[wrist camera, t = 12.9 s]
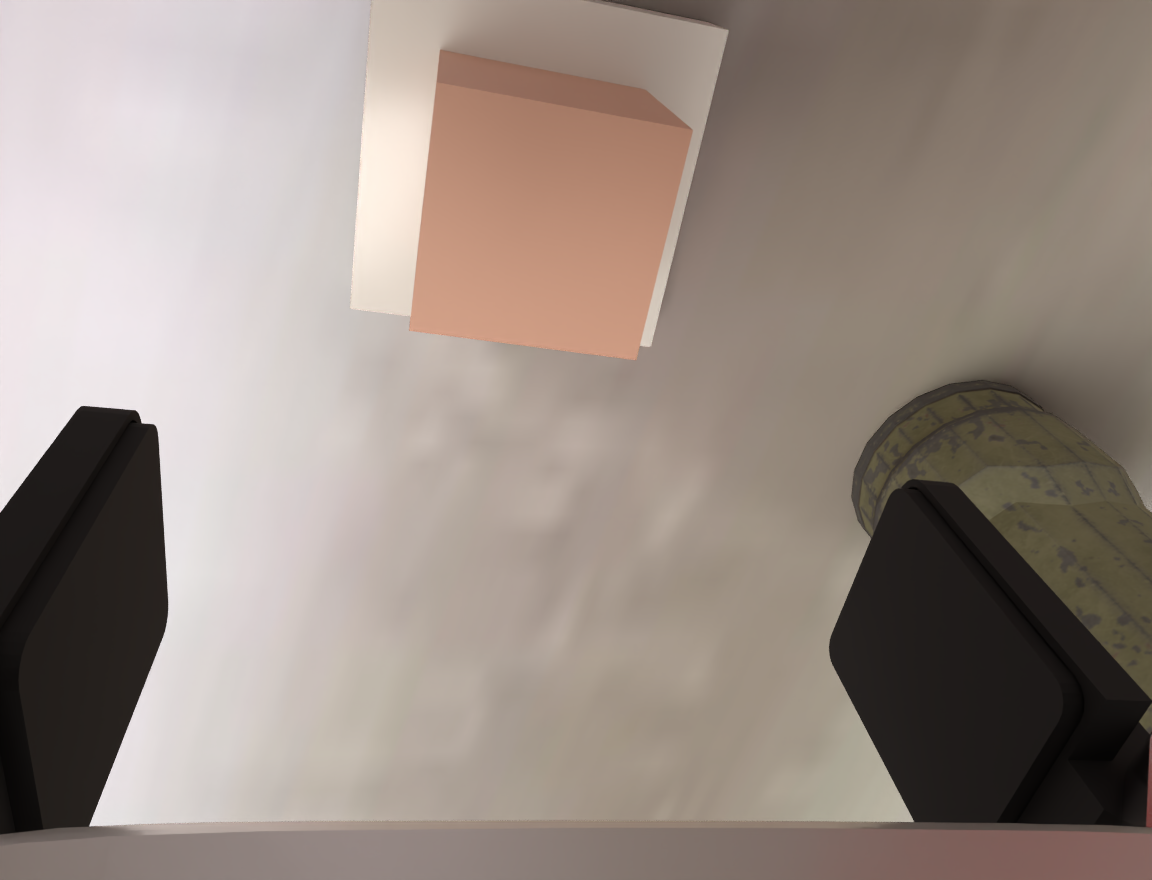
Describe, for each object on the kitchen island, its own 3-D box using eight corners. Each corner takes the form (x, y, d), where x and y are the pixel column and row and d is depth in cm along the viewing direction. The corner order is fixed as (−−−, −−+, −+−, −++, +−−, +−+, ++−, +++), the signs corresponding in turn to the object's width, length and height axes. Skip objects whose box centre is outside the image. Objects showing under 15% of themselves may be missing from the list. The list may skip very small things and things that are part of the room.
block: (380, -45, 26) (374, -43, 24) (707, 22, 28) (728, 30, 25) (357, 281, 30) (349, 308, 28) (637, 318, 32) (650, 347, 30)
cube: (439, 49, 25) (436, 82, 20) (645, 89, 26) (693, 130, 21) (417, 255, 28) (409, 330, 22) (603, 282, 29) (636, 359, 24)
